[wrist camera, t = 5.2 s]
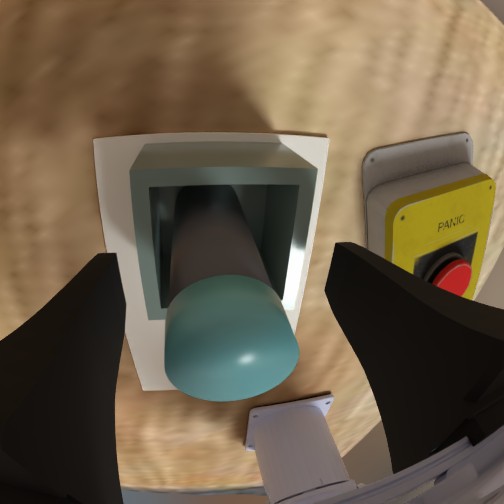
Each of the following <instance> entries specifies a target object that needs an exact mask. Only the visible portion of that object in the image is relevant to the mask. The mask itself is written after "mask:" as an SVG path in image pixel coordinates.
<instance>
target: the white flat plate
mask: <svg viewBox="0 0 504 504" xmlns="http://www.w3.org/2000/svg"><path fill="white" fill-rule="evenodd" d="M329 139H330V138H326V137H315V136H303V135H289V134H272V133H246V132H182V133H157V134H140V135H126V136H115V137H104V138H95V139H93V144H94V158H95V169H96V179H97V188H98V197H99V205H100V212H101V219H102V225H103V232H104V238H105V244H106V249H107V253H117V259H118V264H119V270H120V275H121V280H122V285H123V290H124V295H125V300H126V321H125V333H126V337H127V340H128V344H129V347H130V351H131V354H132V357H133V361H134V364H135V367H136V370H137V374H138V377H139V380H140V383H141V386H142V389H143V391H157V390H178V389H177V388H176V387H175V386H173V384H172V383H171V382H170V381H169V379H168V378H167V375H166V373H165V367H164V346H165V320H148V316H147V310H146V305H145V299H144V293H143V287H142V281H141V275H140V268H139V261H138V254H137V246H136V238H135V230H134V221H133V211H132V200H131V188H130V174H129V170H130V168H131V166H132V165H133V163H134V161H135V159H136V158H137V156H138V154H139V153H140V151H141V149H142V148H143V146H144V144H147V143H167V142H204V141H233V142H270V143H283V144H284V145H285V146H287V147H288V148H290V149H291V150H293V151H294V152H295V153H297V154H298V155H300V156H301V157H302V158H304V159H305V160H307V161H308V162H309V163H311V164H312V165H313V166H315V167H316V168H317V169H318V172H317V179H316V186H315V193H314V200H313V206H312V212H311V219H310V225H309V231H308V237H307V243H306V249H305V254H304V260H303V266H302V271H301V277H300V282H299V287H298V292H297V298H296V303H295V308H294V310H286V311H285V312H286V315H287V317H288V320H289V322H290V325H291V328H292V330H293V333H294V335H295V330H296V326H297V321H298V317H299V312H300V307H301V303H302V298H303V293H304V288H305V283H306V278H307V273H308V268H309V263H310V257H311V252H312V246H313V241H314V235H315V230H316V224H317V218H318V212H319V206H320V200H321V194H322V188H323V181H324V175H325V168H326V161H327V154H328V147H329Z"/></svg>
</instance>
